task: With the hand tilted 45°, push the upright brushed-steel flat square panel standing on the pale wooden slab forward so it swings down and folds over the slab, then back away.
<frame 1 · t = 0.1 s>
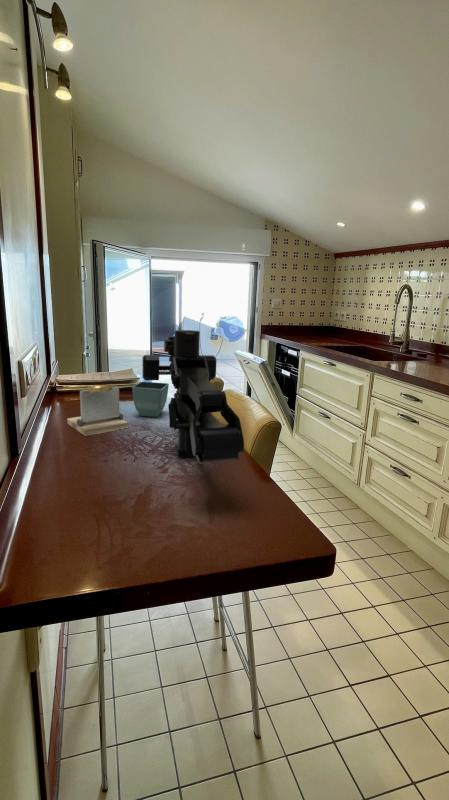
hand: (175, 362, 118), 17 cm above the breakfast bar, fingers open, 9 cm apart
flower pot: (151, 415, 126), on the breakfast bar
flat square panel: (100, 403, 111), point 6 cm above the breakfast bar, hinge at 0.0°
pale wooden slab: (101, 427, 112), on the breakfast bar
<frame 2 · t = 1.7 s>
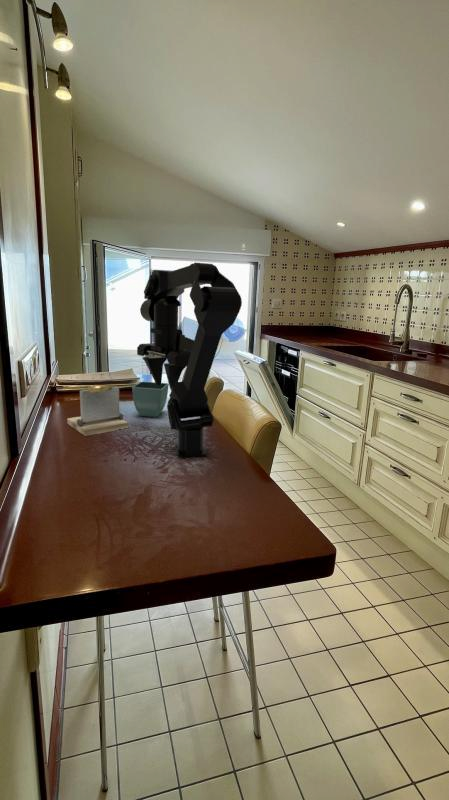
hand: (165, 387, 107), 12 cm above the breakfast bar, fingers open, 6 cm apart
nothing on the breakfast bar moved.
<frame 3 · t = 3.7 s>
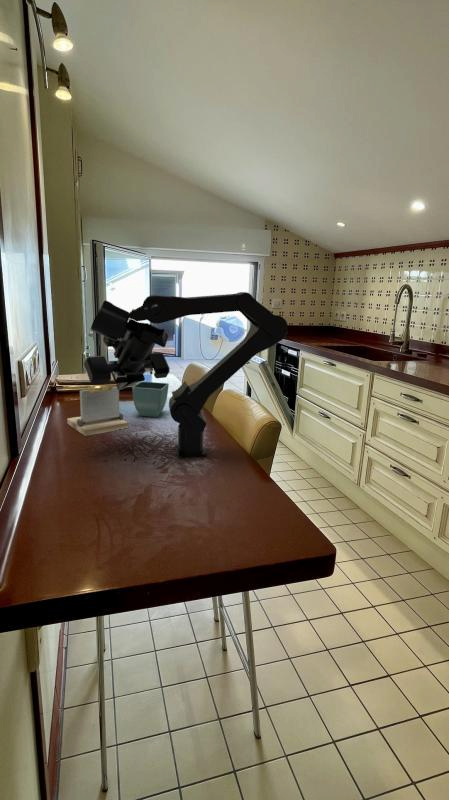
hand: (118, 388, 103), 12 cm above the breakfast bar, fingers closed
nothing on the breakfast bar moved.
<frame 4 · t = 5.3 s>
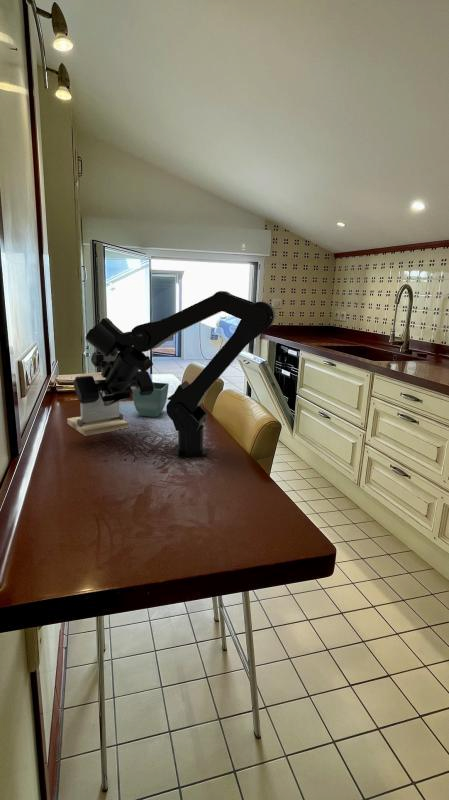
hand: (105, 404, 108), 7 cm above the breakfast bar, fingers closed
nothing on the breakfast bar moved.
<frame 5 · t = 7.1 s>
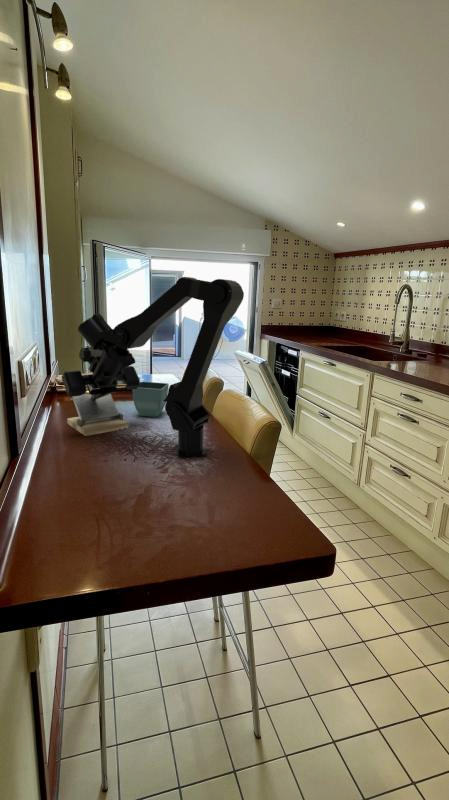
hand: (93, 398, 114), 7 cm above the breakfast bar, fingers closed
flat square panel: (95, 405, 113), point 5 cm above the breakfast bar, hinge at 43.9°
everything else where it was.
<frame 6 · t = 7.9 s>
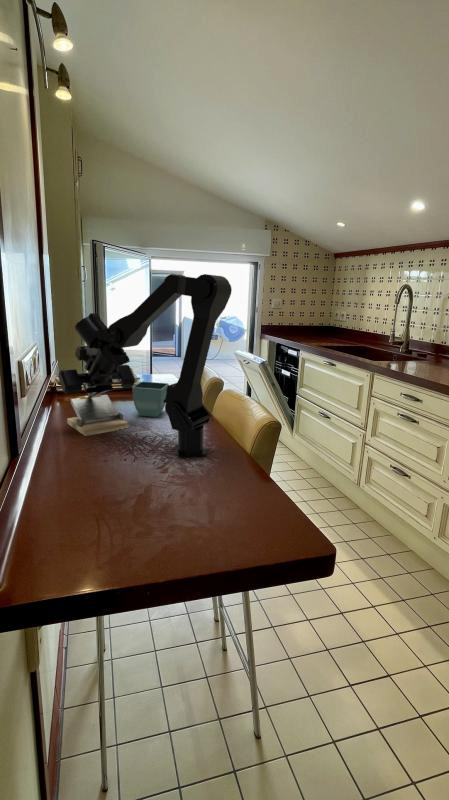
hand: (89, 396, 116), 7 cm above the breakfast bar, fingers closed, pressing on flat square panel
flat square panel: (94, 408, 114), point 4 cm above the breakfast bar, hinge at 58.8°, touching gripper
everything else where it was.
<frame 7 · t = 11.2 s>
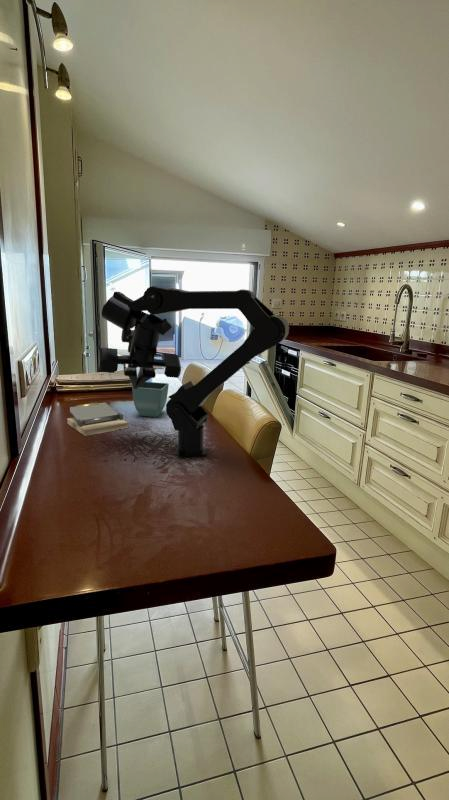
hand: (134, 387, 106), 12 cm above the breakfast bar, fingers closed
flat square panel: (94, 412, 115), point 3 cm above the breakfast bar, hinge at 78.1°
everything else where it was.
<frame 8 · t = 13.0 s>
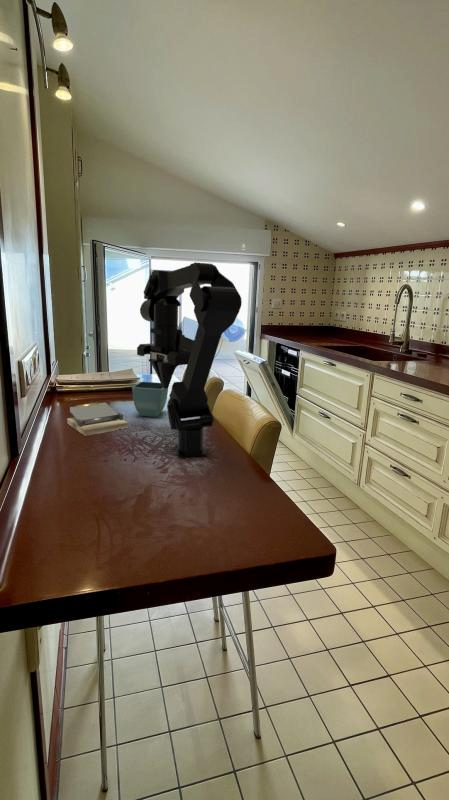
hand: (165, 387, 107), 12 cm above the breakfast bar, fingers closed
nothing on the breakfast bar moved.
at the end: flat square panel at +78° (first picture: +0°); flat square panel touching nothing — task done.
